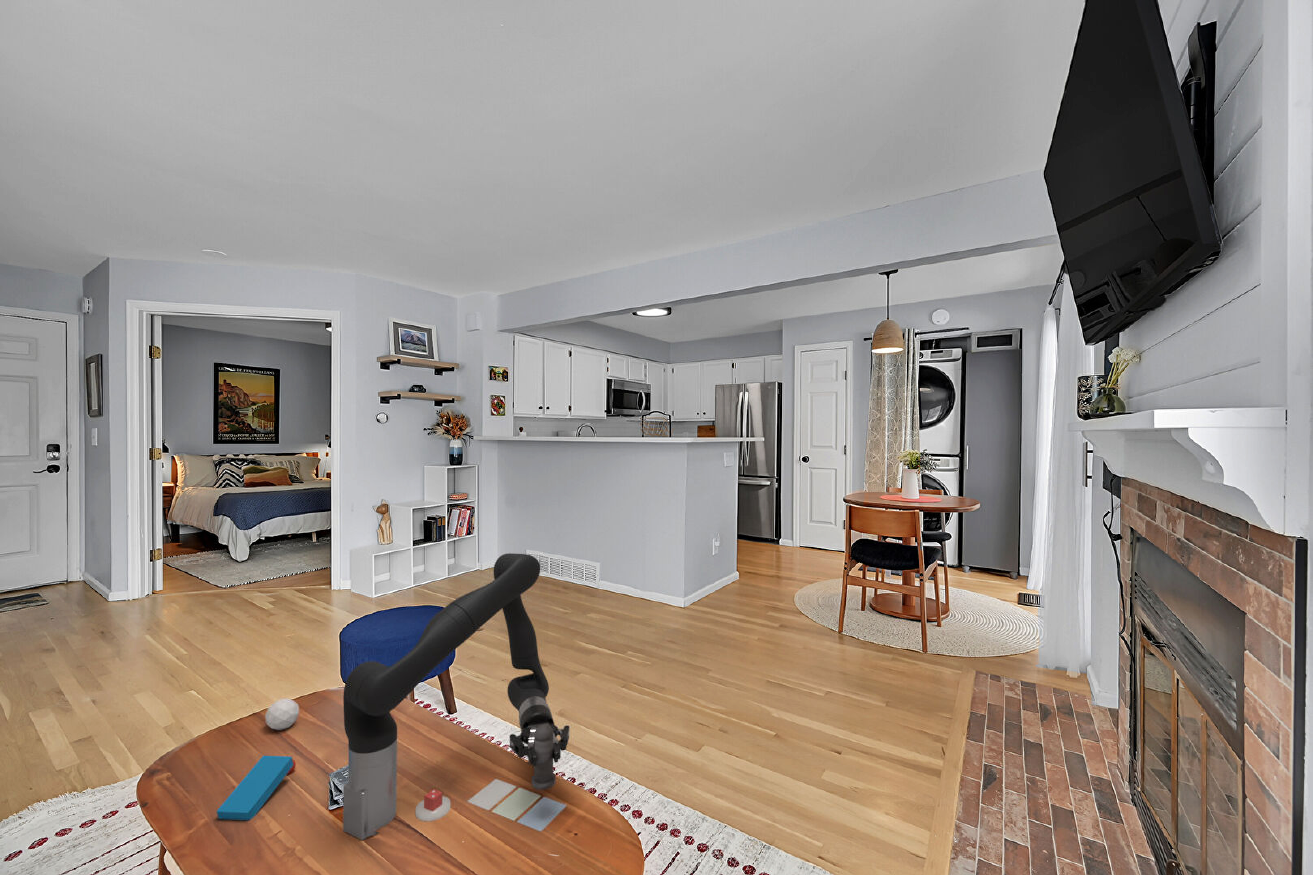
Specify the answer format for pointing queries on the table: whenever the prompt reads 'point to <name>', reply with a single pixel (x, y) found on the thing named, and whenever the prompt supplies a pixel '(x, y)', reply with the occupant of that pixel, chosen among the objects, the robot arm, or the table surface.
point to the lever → (256, 788)
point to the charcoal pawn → (543, 758)
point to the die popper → (433, 806)
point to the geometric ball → (282, 714)
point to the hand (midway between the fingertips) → (545, 759)
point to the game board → (517, 804)
